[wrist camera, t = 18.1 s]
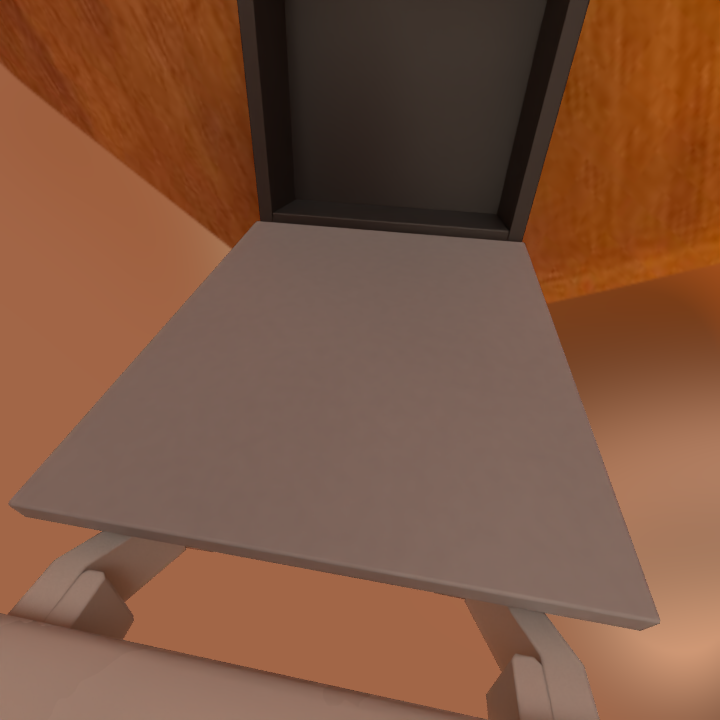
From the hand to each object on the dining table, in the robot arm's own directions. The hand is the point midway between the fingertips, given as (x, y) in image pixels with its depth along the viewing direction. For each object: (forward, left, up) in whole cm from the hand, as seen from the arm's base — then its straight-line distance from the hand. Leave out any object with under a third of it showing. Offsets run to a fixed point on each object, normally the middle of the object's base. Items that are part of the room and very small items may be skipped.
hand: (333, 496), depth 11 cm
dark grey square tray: (0, +12, -17) cm, 21 cm away
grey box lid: (0, +4, -4) cm, 6 cm away
